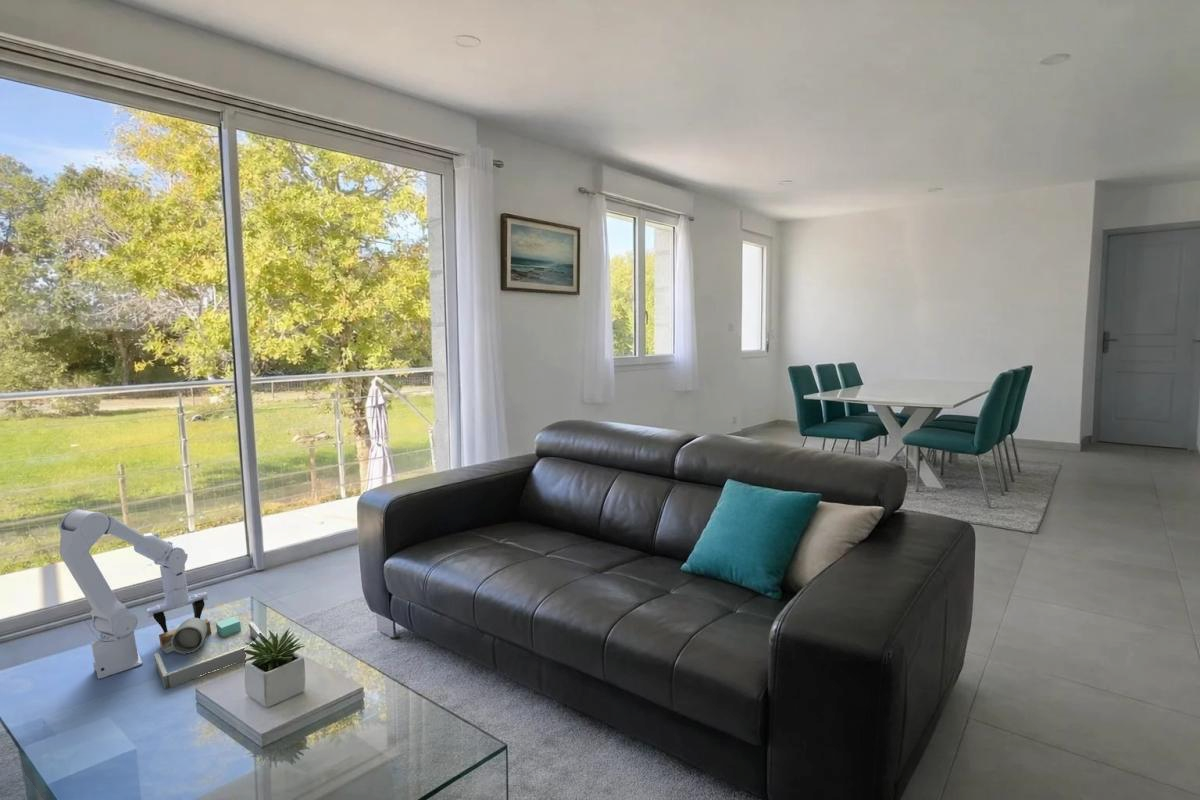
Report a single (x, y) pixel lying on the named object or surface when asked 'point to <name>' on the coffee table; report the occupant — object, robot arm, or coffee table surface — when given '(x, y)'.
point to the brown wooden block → (168, 635)
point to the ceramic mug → (187, 637)
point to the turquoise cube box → (228, 626)
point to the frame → (202, 664)
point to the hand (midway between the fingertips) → (182, 630)
